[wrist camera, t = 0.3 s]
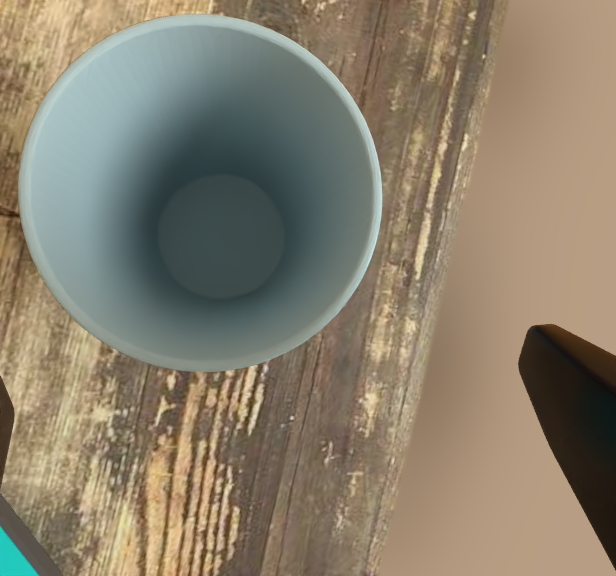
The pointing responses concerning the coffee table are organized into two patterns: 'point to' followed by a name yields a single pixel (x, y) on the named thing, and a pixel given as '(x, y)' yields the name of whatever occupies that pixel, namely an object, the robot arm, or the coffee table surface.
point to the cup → (200, 192)
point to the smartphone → (21, 548)
